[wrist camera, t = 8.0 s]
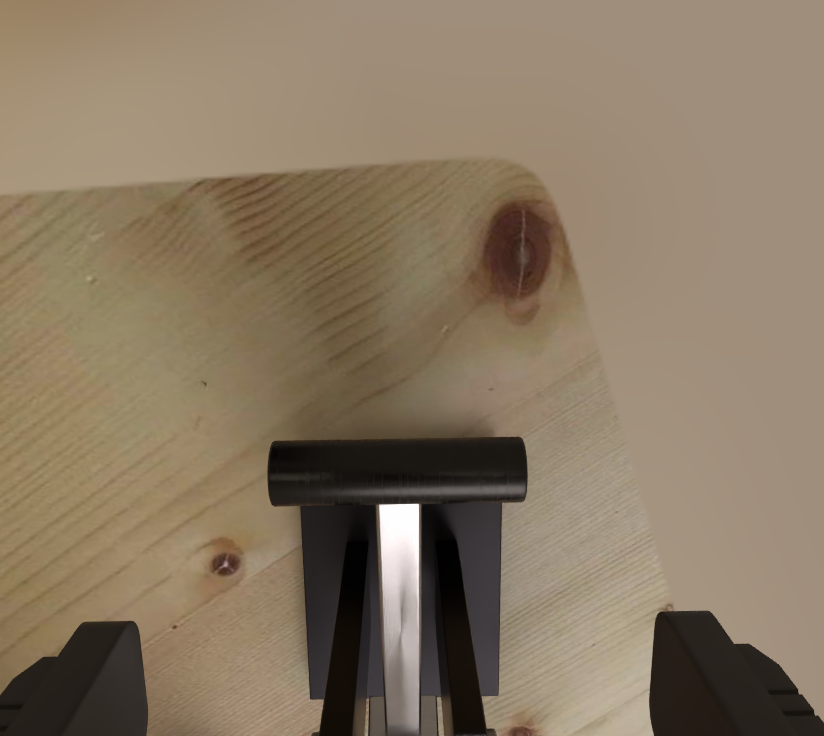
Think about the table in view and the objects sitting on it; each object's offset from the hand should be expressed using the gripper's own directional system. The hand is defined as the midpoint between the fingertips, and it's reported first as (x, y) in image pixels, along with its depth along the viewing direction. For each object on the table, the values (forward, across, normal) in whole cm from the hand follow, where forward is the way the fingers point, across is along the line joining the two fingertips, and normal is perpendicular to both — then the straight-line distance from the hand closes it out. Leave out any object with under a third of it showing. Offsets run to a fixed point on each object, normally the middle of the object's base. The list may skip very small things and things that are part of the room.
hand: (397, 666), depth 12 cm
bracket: (+23, 0, +11) cm, 25 cm away
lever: (+10, 0, +5) cm, 11 cm away
